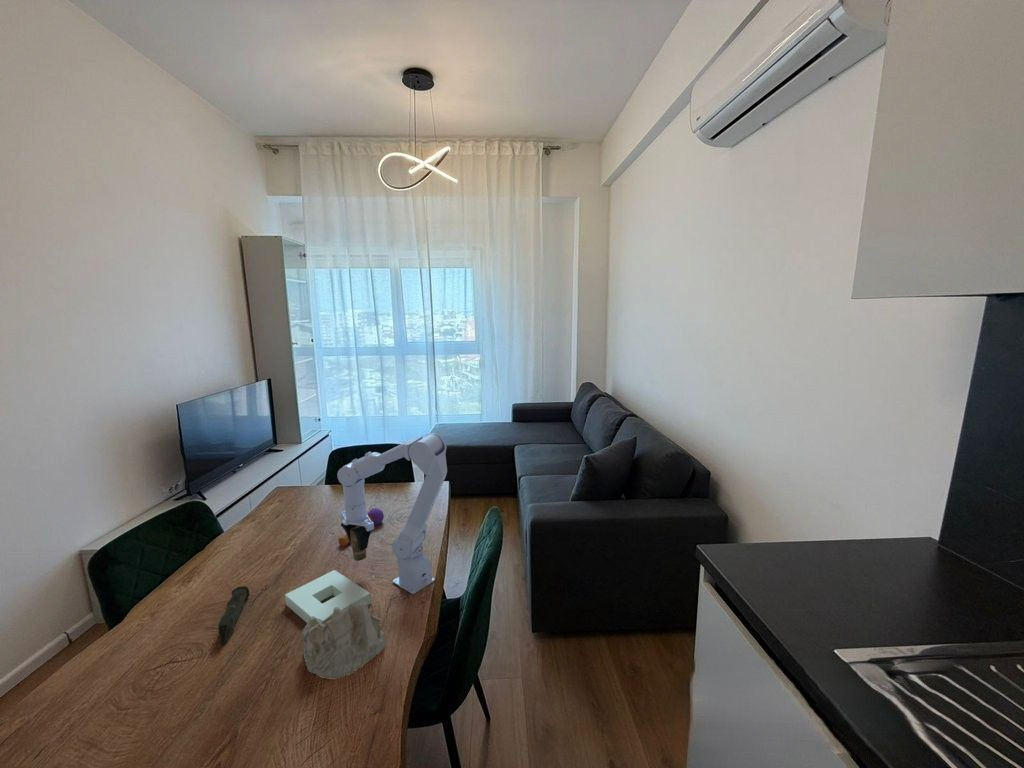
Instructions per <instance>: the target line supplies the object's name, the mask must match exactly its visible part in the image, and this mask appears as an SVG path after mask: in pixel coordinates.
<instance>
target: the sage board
mask: <svg viewBox="0 0 1024 768" xmlns="http://www.w3.org/2000/svg"><path fill="white" fill-rule="evenodd" d="M284 596H285V597H284V598H285V605H286V606H287V607H288V608H289V609H290V610H292V611H293V613H295V614H296V615H297V616H298V617H299V618H300V619H302V620H303V621H304V622H305V623H306V624H307V623H308V622H309V620H310V617H312V616H314V617H315V618H317V619H321V620H322V621H323V620H325V619H326V618H327V617H329V616H330V615H331V614H332V613H333V611H334V608H335V607H338V608H339V609H341V610H342V611H344V610H346V609H347V611H348V609H349V605H350V604H353V605H355V606H356V607H359V604H360V603H361V602H362V601H365V602H367V605H368V606H369V605H370V604H372V603H371V594H370V592H369V591H367V590H365V589H364V587H361V586H360V585H358V584H357V583H355V582H354V581H352V580H351V579H349V578H347V576H345V575H343V574H341V573H340V572H339V571H337V570H335V569H334V570H332V571H329V572H328V573H326V574H324V575H321V576H320V577H316V578H315V579H313V580H311V581H309V582H307V583H305V584H303V585H301V586H299V587H297V588H295V589H293V590H291V591H289V592H287V593H286V594H284ZM331 596H334V597H332V598H330V599H329V600H327V601H325V602H323V601H324V600H325V599H328V598H329V597H331ZM322 602H323V603H322Z"/></svg>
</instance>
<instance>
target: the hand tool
mask: <svg viewBox="0 0 1024 768" xmlns="http://www.w3.org/2000/svg"><path fill="white" fill-rule="evenodd" d="M249 596H250V589H249V587H247V586H245V585H244V586H237V587H236V588H234V589H233V590H232V591H231V596H230V597H231V598H230V600H229V601H228V602H227V604H226V607H227V608H226V609H225V612H224V615H222V616H221V618H220V620H219V622H218V637H219V638H220V643H221V646H224V644H226V643H227V642H228V641H229V640H230V638H231V636H232V634H233V632H234V631H235V625H236V622H237V620H238V618H239V617H240V614H241V611H242V608H243V607H244V604H245V602H246V599H248V598H249Z"/></svg>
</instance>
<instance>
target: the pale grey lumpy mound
mask: <svg viewBox="0 0 1024 768" xmlns="http://www.w3.org/2000/svg"><path fill="white" fill-rule="evenodd" d="M381 620H382V619H381V618H379V617H377V616H375V615H373V614H371V612H370V609H369V605H367V602H365V601H362V602H361V603H360V604H359V607H356V606H355V605H353V604H350V605H349V609H348V611H347V609H346V610H344V611H342V610H341V609H339V608H338V607H335V608H334V611H333V613H332V614H331V615H330V616H329V617H327V618H326V619H325V620H323V621H322V620H321V619H317V618H315V617H314V616H312V617H310V620H309V622H308V623H306V625H305V626H304V628H303V629H302V631H301V637H302V641H303V642H304V643H305V644H304V645H305V646H304V649H303V655H304V659H305V660H304V663H305V662H306V663H305V667H306V666H307V668H308V669H307V668H306V669H307V671H308V670H309V671H308V673H310V672H311V673H310V674H312V673H314V674H316V675H315V676H317V675H319V676H322V677H325V678H338V677H342V676H344V675H347V674H349V673H352V672H354V671H355V670H357V669H358V668H359V667H361V666H362V665H363V664H364V663H366V662H367V661H368V660H370V659H372V658H373V657H374V656H376V655H377V654H378V655H380V654H381V653H382V652H383V651H384V650H385V648H386V647H385V645H386V646H387V640H386V639H385V638H386V636H385V633H384V632H383V631H382V626H381V624H380V622H381ZM384 647H385V648H384ZM383 649H384V650H383ZM382 650H383V651H382ZM381 651H382V652H381ZM380 652H381V653H380ZM379 653H380V654H379ZM378 655H377V656H378ZM377 656H376V657H377ZM373 659H374V658H373ZM373 659H372V660H373ZM361 668H362V667H361ZM354 673H355V672H354Z"/></svg>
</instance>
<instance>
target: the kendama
mask: <svg viewBox="0 0 1024 768" xmlns="http://www.w3.org/2000/svg"><path fill="white" fill-rule="evenodd" d="M367 515H368V517H369V518H370V520H371V521H372V522H373V523H374V526H377V525H380V524H381V523H382V522H383V520H384V518H385V516H384V512H383V510H382V509H380V508H378V507H377V508H372V509H370V510H369V511H368V512H367ZM337 540H338V541H337V542H338V545H340V547H346V546H347V545H348V544H349V543H350V541H349V539H348V536H347V534H345V535H343V536H341V537H339V538H338V539H337Z"/></svg>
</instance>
